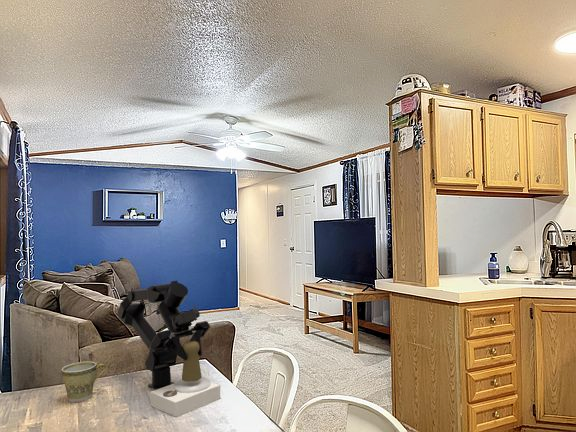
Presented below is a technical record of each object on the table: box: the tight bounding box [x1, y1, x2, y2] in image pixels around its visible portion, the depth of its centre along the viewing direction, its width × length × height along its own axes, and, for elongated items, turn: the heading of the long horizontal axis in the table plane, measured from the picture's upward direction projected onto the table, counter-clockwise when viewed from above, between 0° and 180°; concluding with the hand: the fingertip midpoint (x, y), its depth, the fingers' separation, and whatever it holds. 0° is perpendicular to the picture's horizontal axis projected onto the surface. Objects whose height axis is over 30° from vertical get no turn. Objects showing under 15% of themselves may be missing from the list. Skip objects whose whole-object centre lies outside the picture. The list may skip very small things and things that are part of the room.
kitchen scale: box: [149, 376, 221, 418], centre depth 132 cm, size 13×16×5 cm
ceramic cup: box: [61, 361, 106, 403], centre depth 140 cm, size 13×10×10 cm
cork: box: [181, 340, 203, 382], centre depth 134 cm, size 6×6×11 cm
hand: (193, 357), depth 134 cm, fingers closed on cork, 5 cm apart
